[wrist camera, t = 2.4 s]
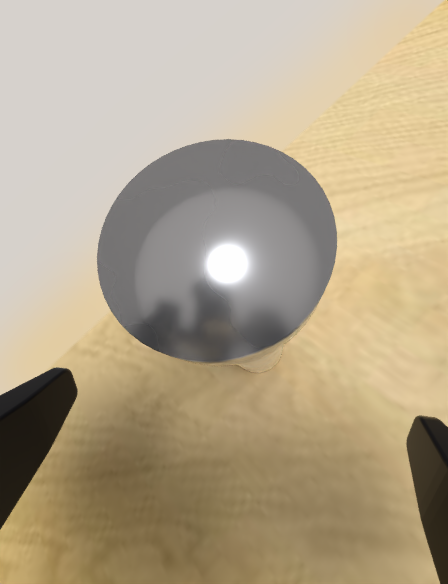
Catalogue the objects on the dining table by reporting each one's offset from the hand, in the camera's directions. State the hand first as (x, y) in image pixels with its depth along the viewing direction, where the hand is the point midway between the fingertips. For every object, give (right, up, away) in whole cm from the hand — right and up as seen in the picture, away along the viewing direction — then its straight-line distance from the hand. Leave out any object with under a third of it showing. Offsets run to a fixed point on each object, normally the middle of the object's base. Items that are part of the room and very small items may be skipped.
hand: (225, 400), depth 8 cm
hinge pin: (+2, 0, +10) cm, 10 cm away
